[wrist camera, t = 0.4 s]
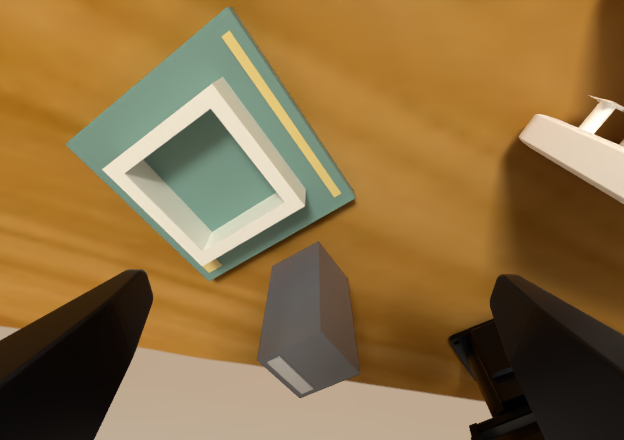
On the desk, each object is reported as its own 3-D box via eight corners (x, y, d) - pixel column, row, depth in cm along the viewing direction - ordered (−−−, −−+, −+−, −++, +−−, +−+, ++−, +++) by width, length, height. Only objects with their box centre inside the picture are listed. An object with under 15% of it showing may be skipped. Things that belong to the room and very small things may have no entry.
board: (353, 191, 22) (355, 199, 21) (212, 272, 25) (208, 282, 24) (231, 7, 17) (227, 6, 16) (75, 138, 20) (64, 144, 19)
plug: (347, 278, 26) (360, 375, 19) (297, 303, 27) (292, 402, 20) (318, 241, 24) (320, 332, 17) (266, 269, 25) (249, 365, 18)
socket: (305, 189, 21) (304, 206, 19) (211, 245, 23) (201, 266, 21) (222, 76, 18) (211, 83, 16) (122, 154, 20) (102, 169, 18)
